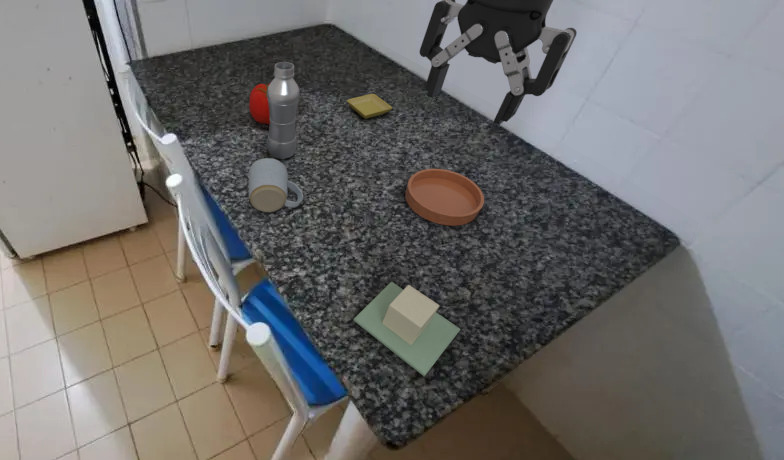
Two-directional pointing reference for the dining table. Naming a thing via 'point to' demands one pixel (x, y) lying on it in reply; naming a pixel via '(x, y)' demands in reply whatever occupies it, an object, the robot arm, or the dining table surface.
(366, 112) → the saucer
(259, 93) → the tomato
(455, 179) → the terracotta dish
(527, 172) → the dining table surface
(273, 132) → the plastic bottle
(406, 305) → the block
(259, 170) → the ceramic mug
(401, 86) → the dining table surface
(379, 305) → the mat
